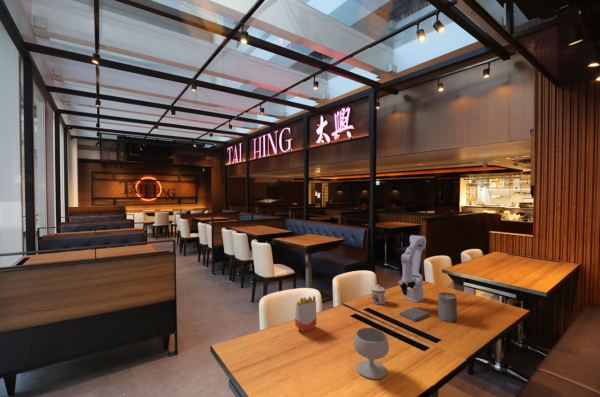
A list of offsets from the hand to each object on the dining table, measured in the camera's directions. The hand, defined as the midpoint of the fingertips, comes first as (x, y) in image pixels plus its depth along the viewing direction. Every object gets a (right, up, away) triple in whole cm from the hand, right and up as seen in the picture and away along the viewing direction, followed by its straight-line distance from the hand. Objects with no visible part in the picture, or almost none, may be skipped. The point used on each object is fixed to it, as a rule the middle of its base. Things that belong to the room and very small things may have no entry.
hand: (407, 293), depth 176 cm
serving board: (-1, -9, -12) cm, 15 cm away
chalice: (-39, -11, -62) cm, 74 cm away
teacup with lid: (-16, -9, +7) cm, 19 cm away
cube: (0, -2, 0) cm, 2 cm away
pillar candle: (+16, -9, -17) cm, 25 cm away
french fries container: (-66, -10, -26) cm, 72 cm away
